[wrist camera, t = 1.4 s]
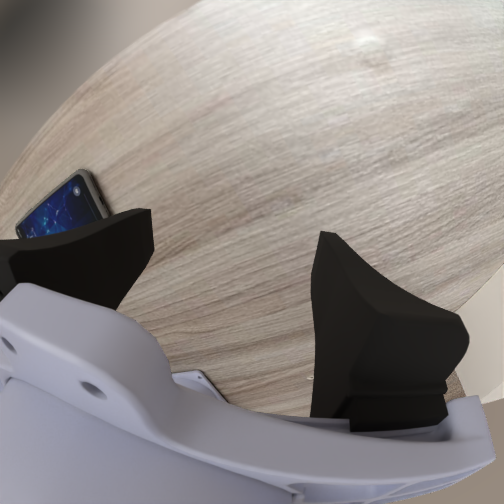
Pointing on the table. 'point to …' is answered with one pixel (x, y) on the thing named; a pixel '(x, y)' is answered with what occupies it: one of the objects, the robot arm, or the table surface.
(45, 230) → the smartphone
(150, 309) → the table surface
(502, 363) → the block
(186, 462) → the robot arm
